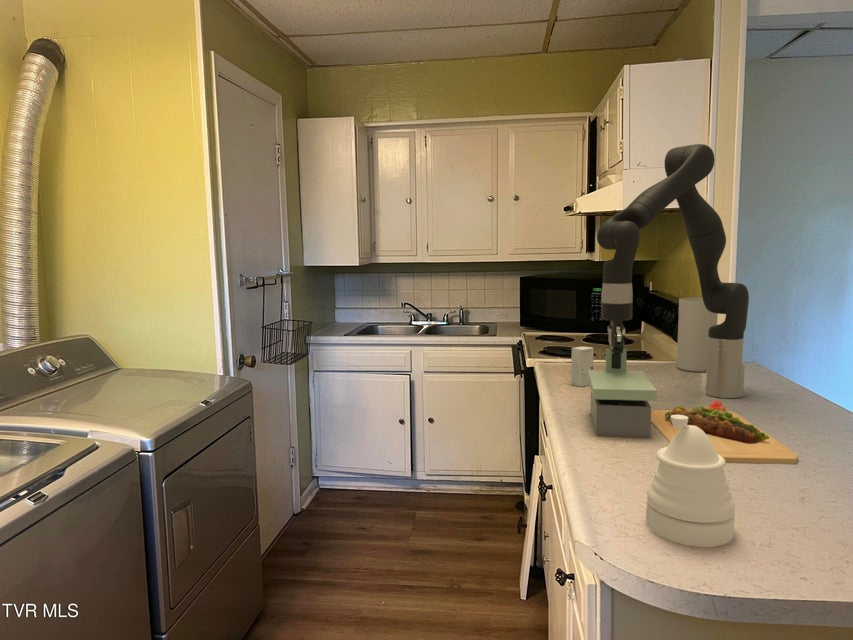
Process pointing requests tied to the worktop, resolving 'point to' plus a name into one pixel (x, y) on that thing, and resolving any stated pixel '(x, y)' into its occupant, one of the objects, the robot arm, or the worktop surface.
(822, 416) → the worktop surface
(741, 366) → the robot arm
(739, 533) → the worktop surface
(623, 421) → the tub
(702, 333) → the cylinder vase
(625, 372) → the lid
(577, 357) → the skincare box
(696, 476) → the honey pot
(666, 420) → the cutting board
